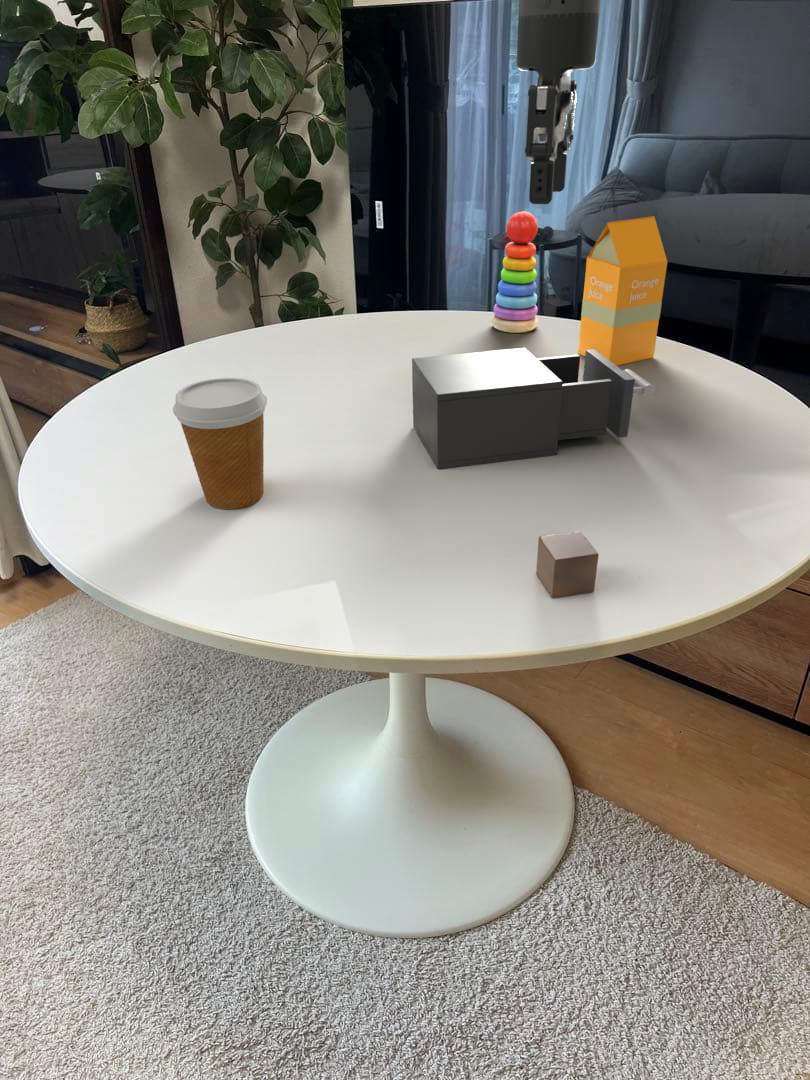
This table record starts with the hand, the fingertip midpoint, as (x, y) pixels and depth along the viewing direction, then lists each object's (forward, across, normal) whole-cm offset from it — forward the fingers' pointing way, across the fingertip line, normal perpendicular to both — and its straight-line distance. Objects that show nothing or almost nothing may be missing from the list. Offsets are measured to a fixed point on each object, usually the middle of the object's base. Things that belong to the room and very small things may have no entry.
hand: (547, 197), depth 82 cm
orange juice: (+28, +34, -7) cm, 45 cm away
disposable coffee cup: (+28, -23, +29) cm, 46 cm away
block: (+28, -30, -8) cm, 41 cm away
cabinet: (+28, -2, +6) cm, 28 cm away
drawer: (+27, +4, -4) cm, 28 cm away
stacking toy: (+28, +45, +11) cm, 54 cm away
